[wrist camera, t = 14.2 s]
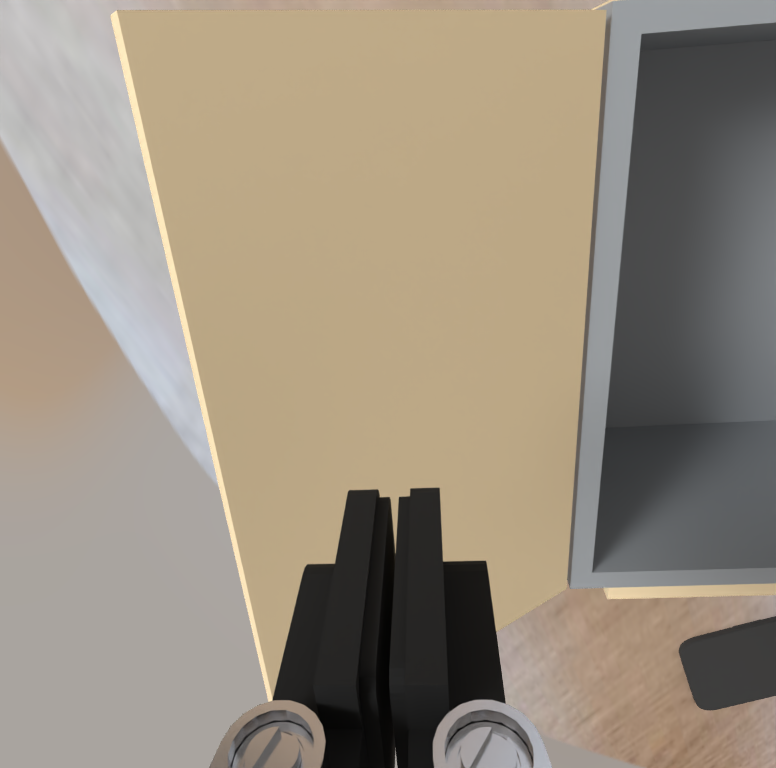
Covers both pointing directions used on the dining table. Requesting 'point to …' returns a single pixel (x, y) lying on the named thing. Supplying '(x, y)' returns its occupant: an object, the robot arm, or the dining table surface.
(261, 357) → the carton flap
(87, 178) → the dining table surface
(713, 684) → the phone
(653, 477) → the carton
